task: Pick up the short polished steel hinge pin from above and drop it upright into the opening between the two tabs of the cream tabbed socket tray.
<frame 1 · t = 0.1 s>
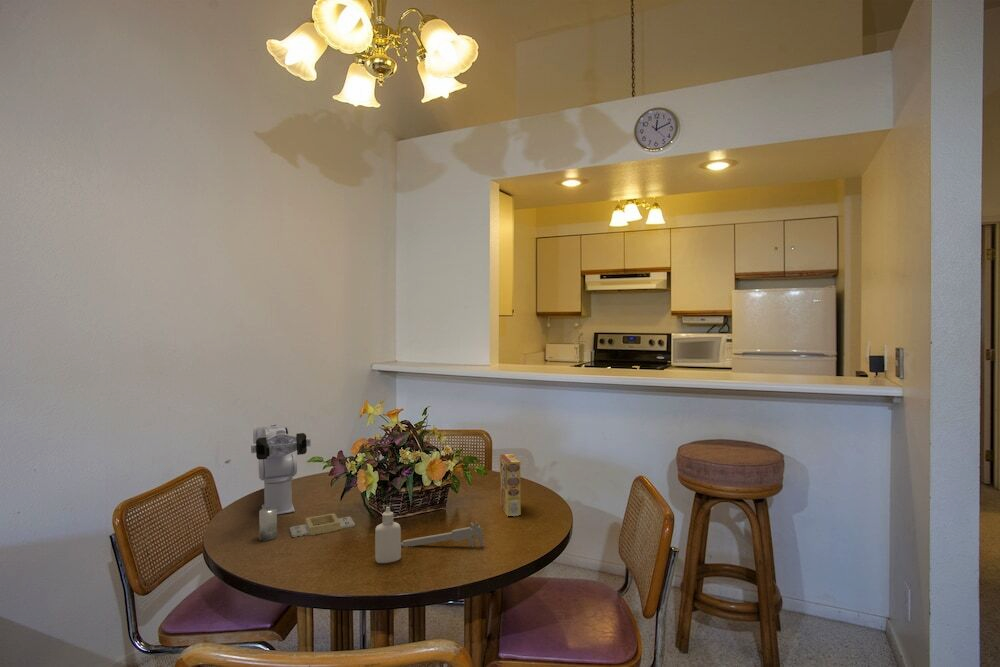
hand: (284, 449, 131), 22 cm above the table, tool horizontal, fingers open, 7 cm apart
hinge pin: (268, 537, 130), on the table
eye dropper bottle: (388, 560, 118), on the table
cream tabbed socket tray: (322, 527, 136), on the table
caliper: (440, 548, 125), on the table
candy box: (510, 512, 148), on the table
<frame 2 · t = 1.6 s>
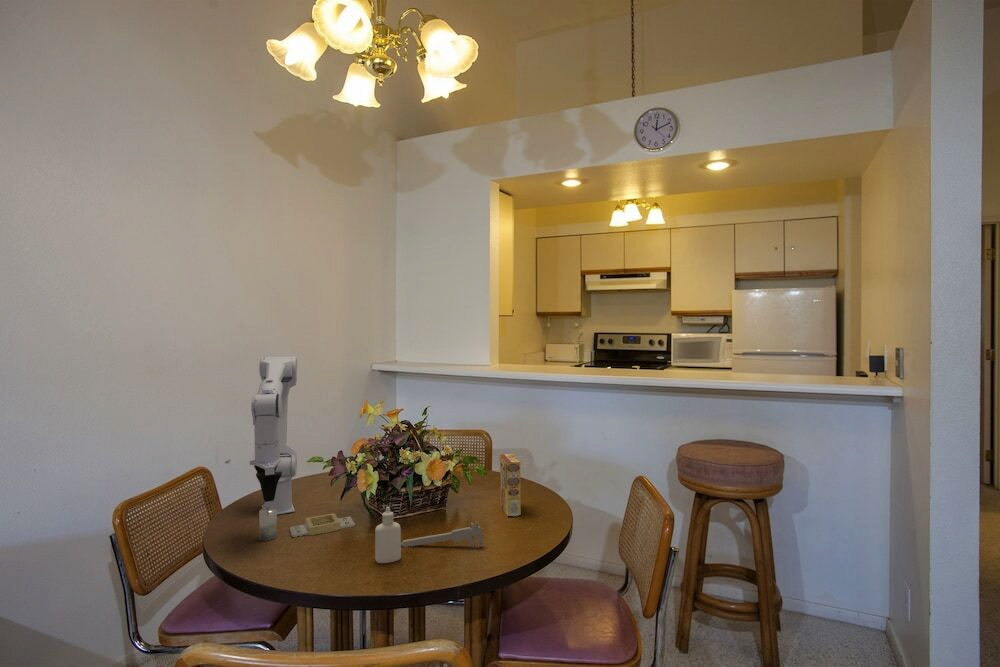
hand: (267, 496, 130), 10 cm above the table, tool pointing down, fingers open, 7 cm apart
nothing on the table moved.
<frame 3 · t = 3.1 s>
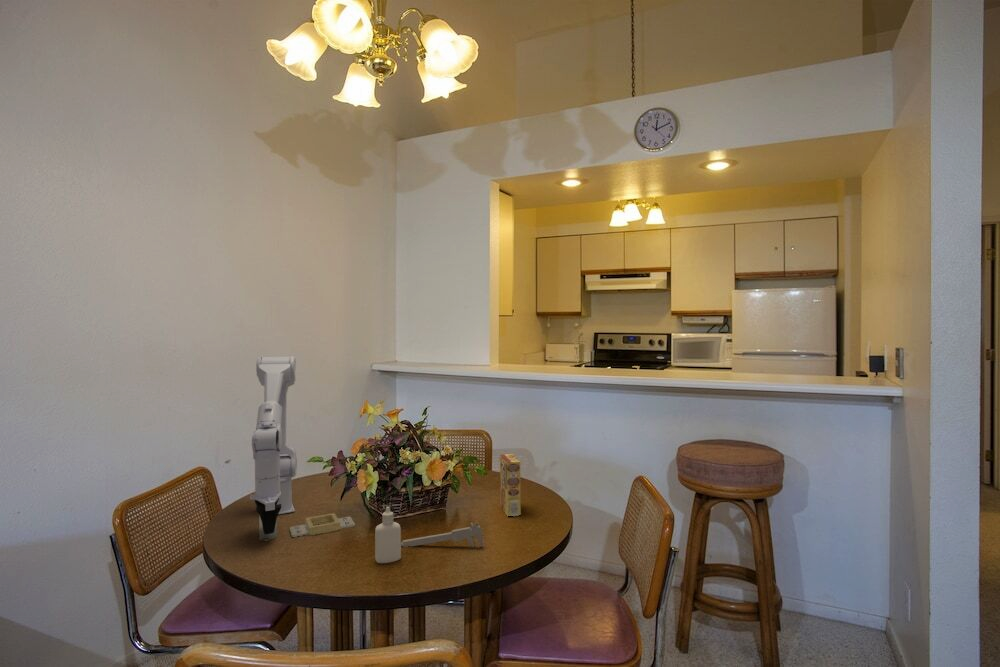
hand: (268, 530, 130), 2 cm above the table, tool pointing down, fingers closed on hinge pin, 4 cm apart
hinge pin: (268, 537, 130), on the table, touching gripper
everything else where it was.
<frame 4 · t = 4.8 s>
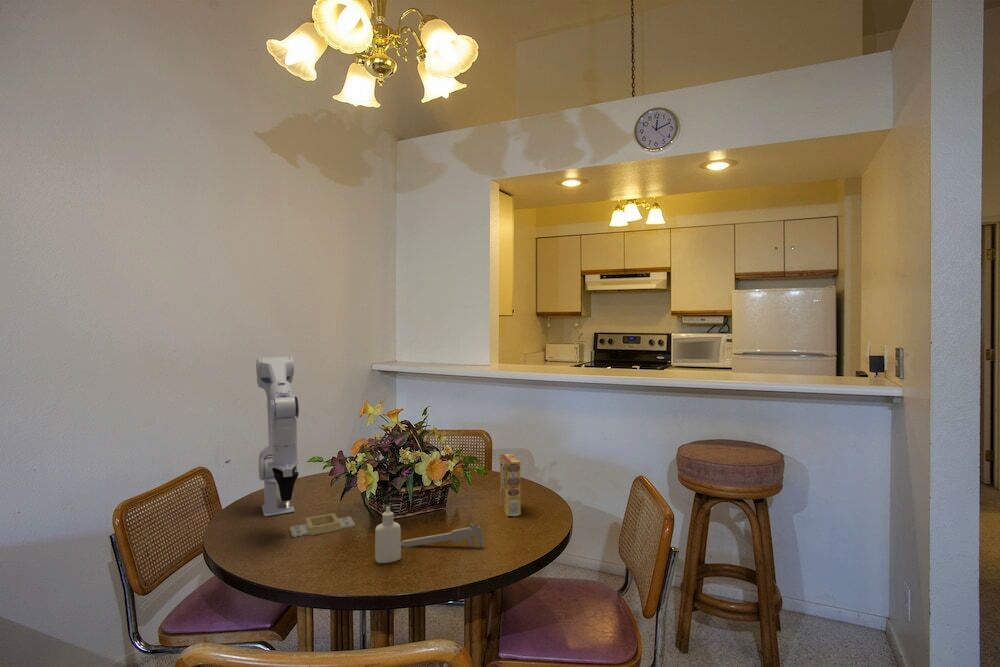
hand: (285, 497, 132), 9 cm above the table, tool pointing down, fingers closed on hinge pin, 4 cm apart
hinge pin: (285, 505, 132), point 7 cm above the table, touching gripper
everything else where it was.
when the fingers open (3 cm above the table, at t = 6.9 s): hinge pin drops 1 cm, resting in cream tabbed socket tray.
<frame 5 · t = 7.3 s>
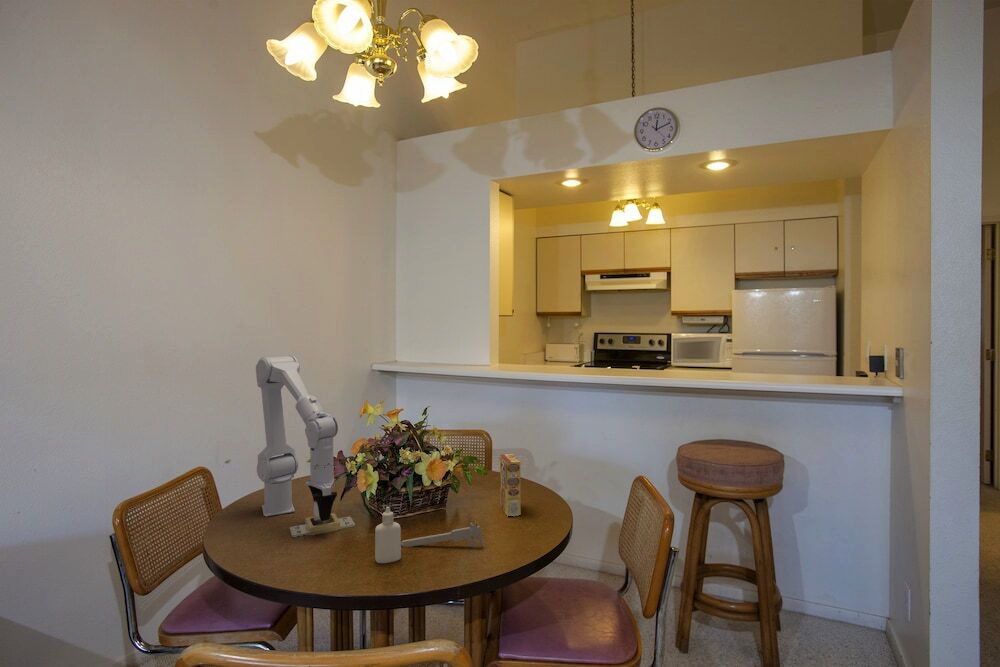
hand: (322, 514, 136), 3 cm above the table, tool pointing down, fingers open, 7 cm apart
hinge pin: (321, 527, 136), resting in cream tabbed socket tray
everything else where it was.
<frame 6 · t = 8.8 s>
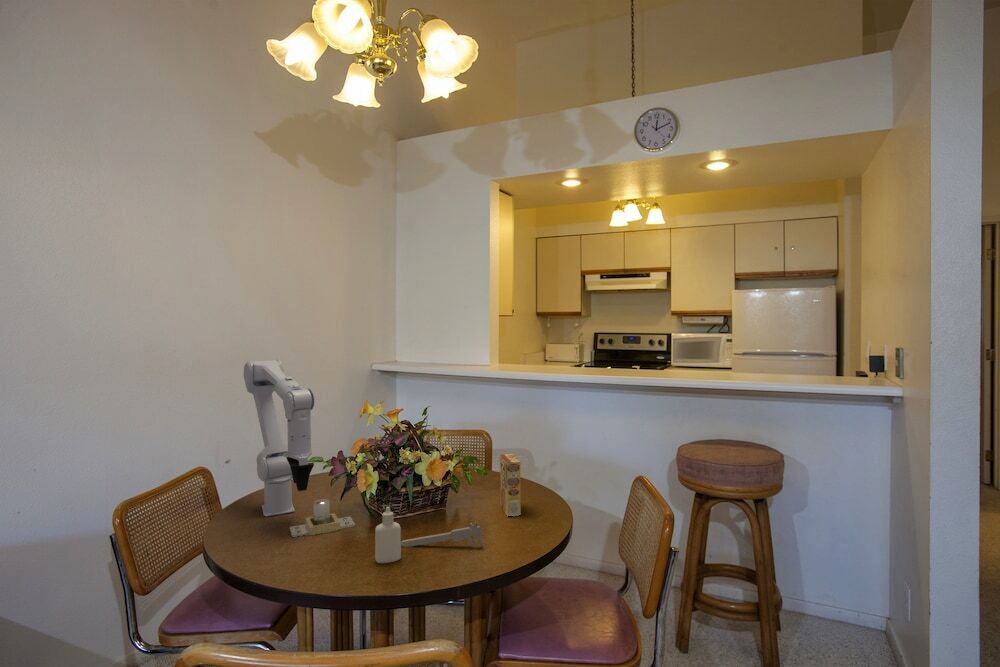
hand: (300, 486, 138), 10 cm above the table, tool pointing down, fingers open, 7 cm apart
nothing on the table moved.
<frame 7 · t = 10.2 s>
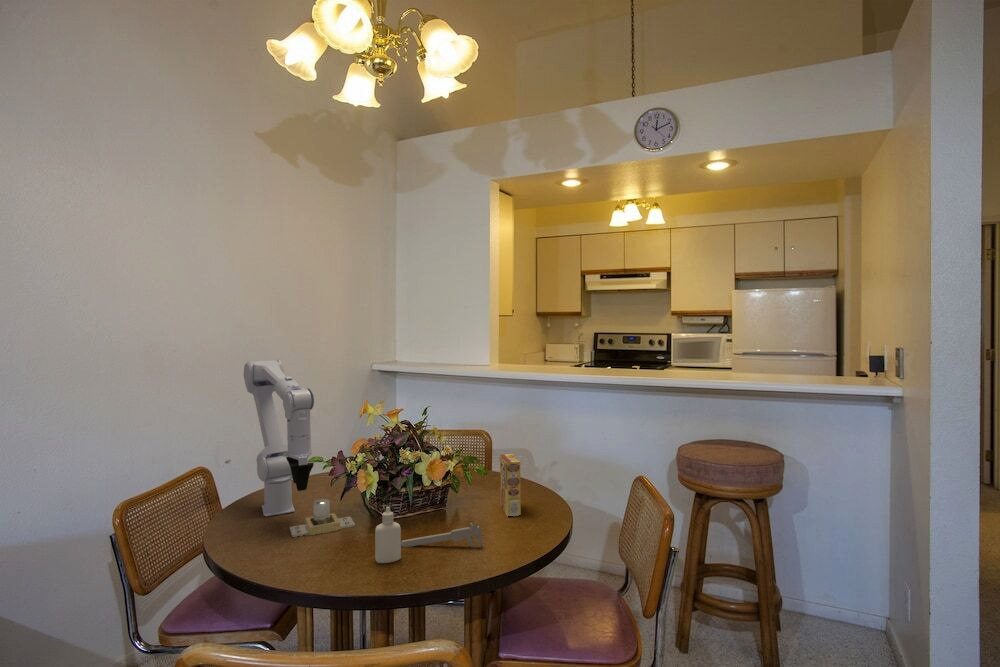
hand: (299, 486, 138), 10 cm above the table, tool pointing down, fingers open, 7 cm apart
nothing on the table moved.
at the end: hinge pin 0.2 cm off-centre on the cream tabbed socket tray, point 0.0 cm above the cream tabbed socket tray's base; hinge pin tilted 1°; the gripper is holding nothing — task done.
